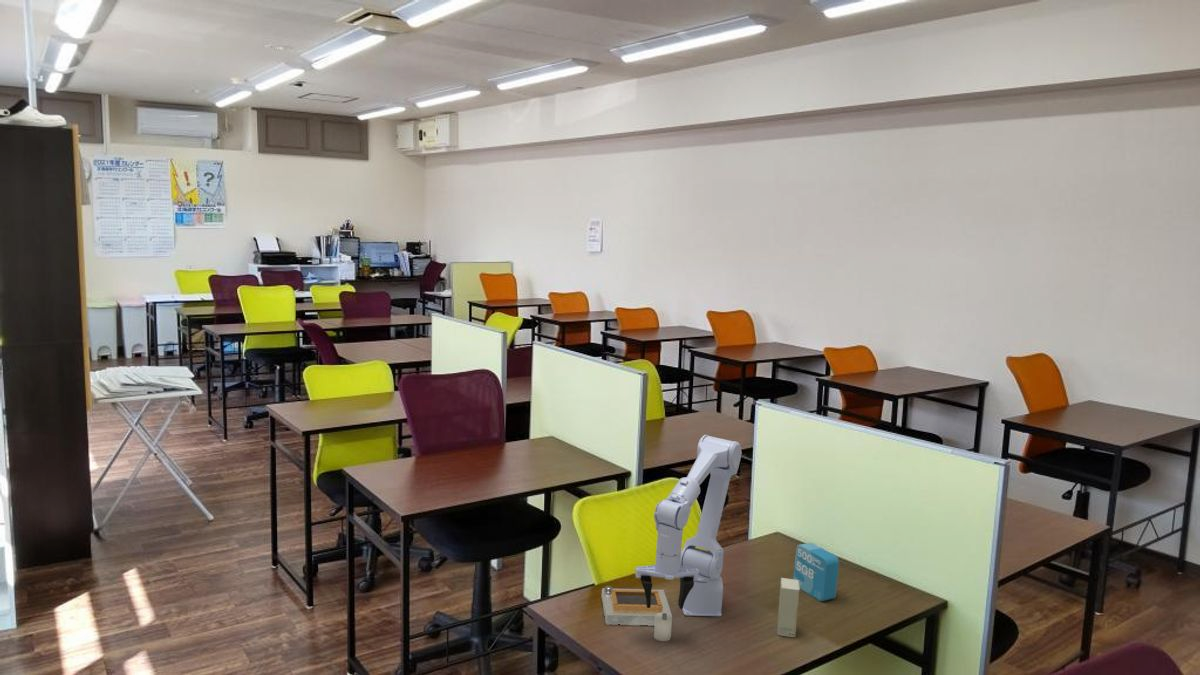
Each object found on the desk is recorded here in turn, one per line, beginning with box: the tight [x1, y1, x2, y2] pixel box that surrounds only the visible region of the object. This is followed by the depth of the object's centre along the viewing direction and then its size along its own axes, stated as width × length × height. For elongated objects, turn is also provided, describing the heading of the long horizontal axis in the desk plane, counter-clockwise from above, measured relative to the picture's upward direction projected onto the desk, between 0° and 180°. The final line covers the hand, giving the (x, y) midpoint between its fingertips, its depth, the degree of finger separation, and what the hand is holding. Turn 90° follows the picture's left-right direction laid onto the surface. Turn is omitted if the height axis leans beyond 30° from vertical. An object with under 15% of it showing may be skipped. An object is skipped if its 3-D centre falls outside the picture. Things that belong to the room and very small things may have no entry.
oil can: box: [653, 613, 673, 642], centre depth 190 cm, size 4×4×6 cm
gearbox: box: [601, 585, 673, 627], centre depth 202 cm, size 16×14×4 cm
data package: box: [792, 542, 840, 602], centre depth 218 cm, size 12×4×12 cm, turn 27°
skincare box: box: [776, 577, 801, 638], centre depth 196 cm, size 6×4×12 cm
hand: (664, 606), depth 189 cm, fingers open, 7 cm apart
